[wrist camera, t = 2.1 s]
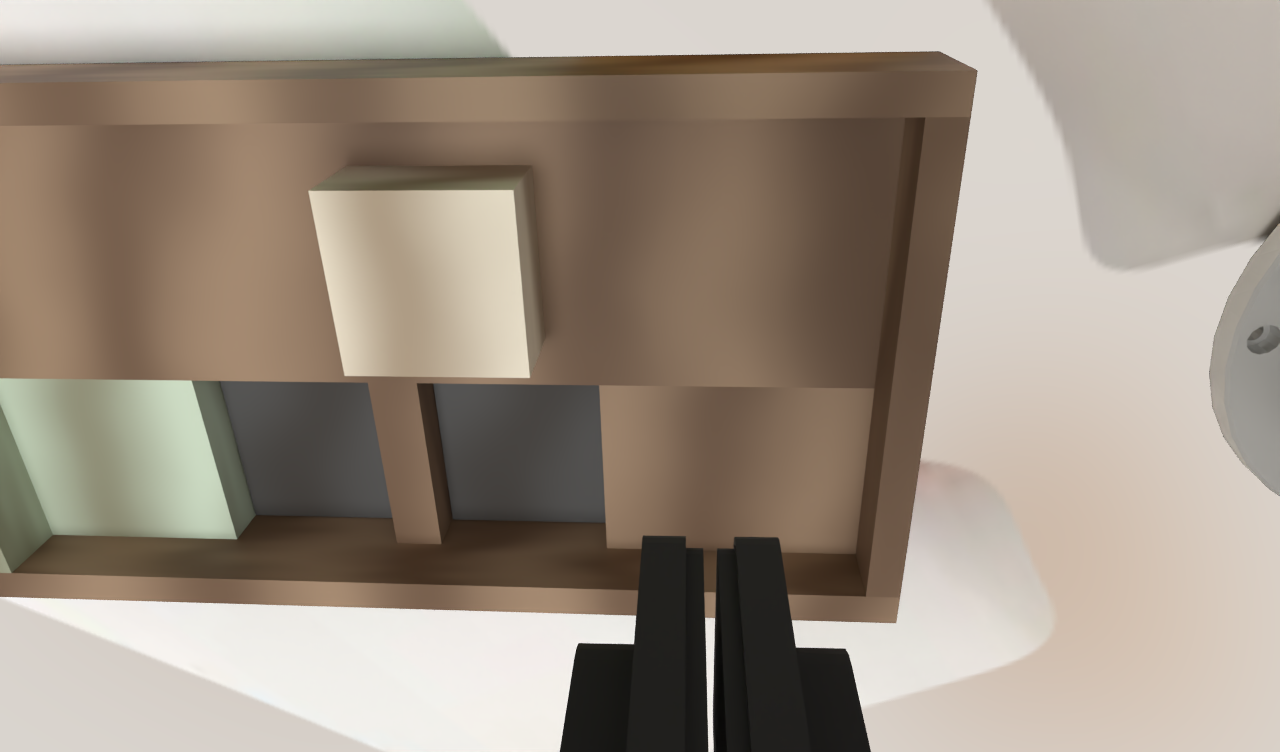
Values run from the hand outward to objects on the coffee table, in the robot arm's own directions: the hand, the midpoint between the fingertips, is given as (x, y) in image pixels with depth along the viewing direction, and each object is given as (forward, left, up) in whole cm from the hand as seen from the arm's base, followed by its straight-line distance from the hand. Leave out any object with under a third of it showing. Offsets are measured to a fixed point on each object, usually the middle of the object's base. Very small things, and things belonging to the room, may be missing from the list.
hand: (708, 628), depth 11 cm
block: (+7, 0, -14) cm, 16 cm away
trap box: (+9, +3, -16) cm, 18 cm away
